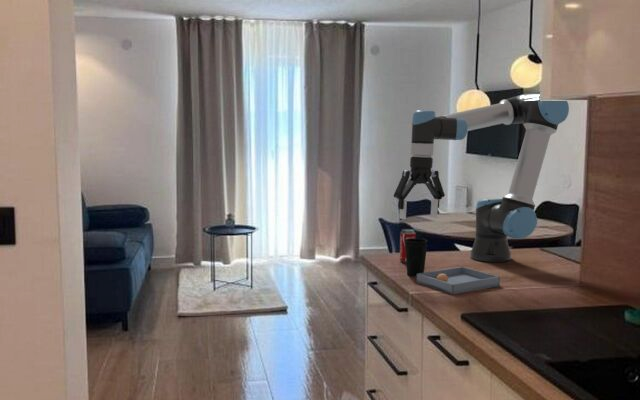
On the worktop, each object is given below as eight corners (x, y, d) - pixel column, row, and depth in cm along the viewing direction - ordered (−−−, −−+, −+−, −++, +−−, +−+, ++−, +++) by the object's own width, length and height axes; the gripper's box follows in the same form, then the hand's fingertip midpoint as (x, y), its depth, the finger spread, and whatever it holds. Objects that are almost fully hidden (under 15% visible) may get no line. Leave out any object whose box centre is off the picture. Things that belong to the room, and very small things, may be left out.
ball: (442, 282, 204) (443, 271, 204) (450, 284, 201) (450, 274, 201) (434, 284, 203) (434, 273, 202) (441, 286, 200) (442, 275, 199)
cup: (426, 277, 214) (426, 242, 213) (403, 276, 216) (404, 241, 214) (427, 272, 222) (427, 238, 220) (405, 271, 223) (405, 237, 222)
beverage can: (396, 260, 241) (397, 229, 240) (410, 259, 243) (410, 228, 242) (404, 263, 236) (405, 231, 235) (418, 262, 238) (418, 230, 237)
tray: (462, 275, 218) (462, 266, 217) (499, 285, 203) (499, 276, 203) (416, 282, 208) (416, 273, 207) (452, 294, 193) (452, 284, 193)
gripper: (442, 156, 226) (439, 215, 228) (385, 155, 214) (382, 217, 216) (457, 157, 220) (453, 218, 222) (398, 156, 207) (395, 220, 210)
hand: (418, 218), depth 219 cm, fingers open, 13 cm apart
